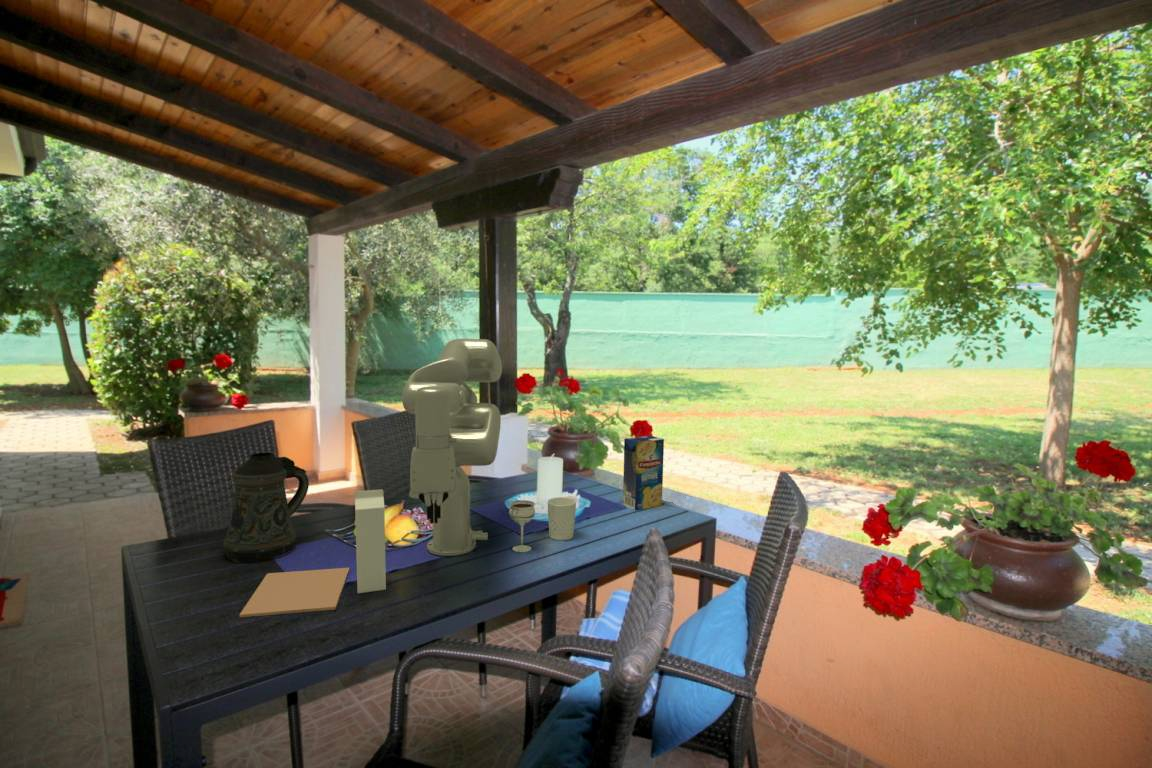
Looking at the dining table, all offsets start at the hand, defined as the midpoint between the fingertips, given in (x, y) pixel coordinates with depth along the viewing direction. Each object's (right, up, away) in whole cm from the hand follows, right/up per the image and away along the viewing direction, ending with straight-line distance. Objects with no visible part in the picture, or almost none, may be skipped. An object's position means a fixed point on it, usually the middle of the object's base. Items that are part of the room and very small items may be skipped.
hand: (433, 521), depth 137 cm
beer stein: (-48, -12, +19) cm, 53 cm away
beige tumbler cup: (+28, -12, +31) cm, 44 cm away
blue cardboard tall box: (+54, -9, +61) cm, 82 cm away
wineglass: (+18, -12, +22) cm, 31 cm away
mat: (-28, -14, -5) cm, 32 cm away
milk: (-14, -14, -2) cm, 20 cm away
